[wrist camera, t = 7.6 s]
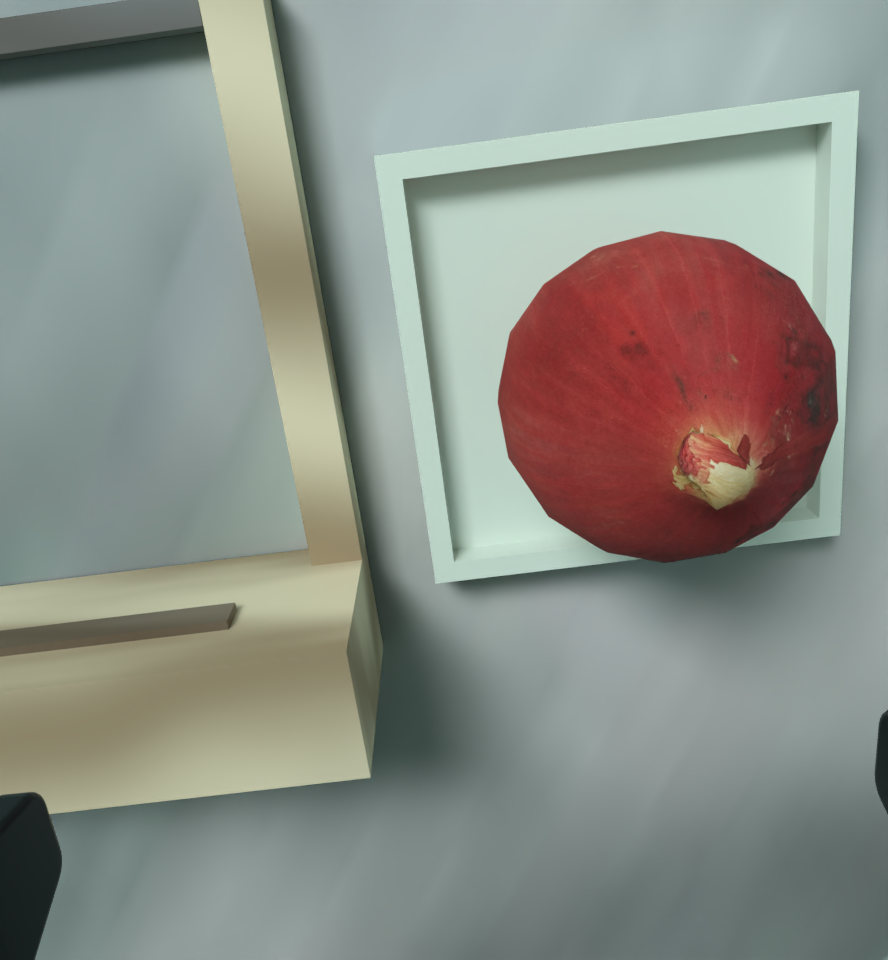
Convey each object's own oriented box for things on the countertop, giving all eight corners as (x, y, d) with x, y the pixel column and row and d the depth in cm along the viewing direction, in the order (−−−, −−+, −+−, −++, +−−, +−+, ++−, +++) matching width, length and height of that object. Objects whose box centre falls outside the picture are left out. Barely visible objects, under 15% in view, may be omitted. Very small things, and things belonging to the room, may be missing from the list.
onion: (736, 193, 18) (962, 212, 10) (759, 449, 20) (962, 623, 12) (464, 254, 18) (486, 316, 10) (513, 499, 20) (562, 699, 12)
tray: (818, 515, 21) (840, 535, 20) (435, 561, 21) (435, 583, 20) (831, 95, 17) (859, 90, 16) (377, 156, 18) (373, 156, 17)
